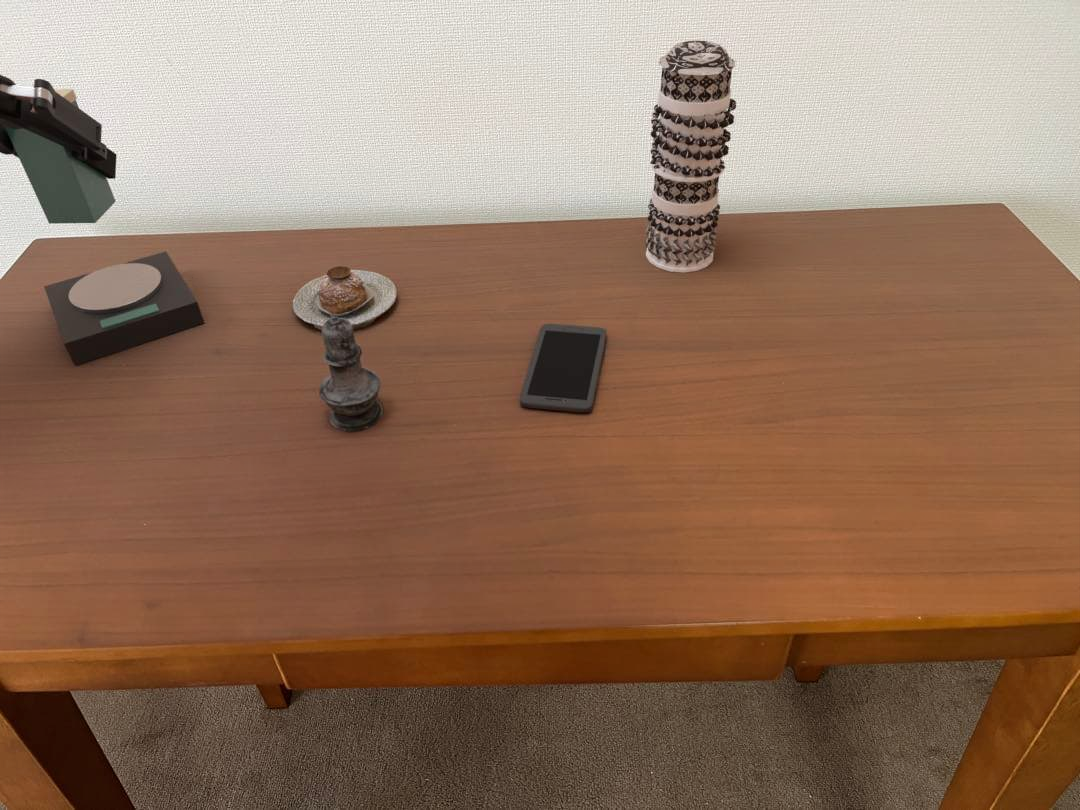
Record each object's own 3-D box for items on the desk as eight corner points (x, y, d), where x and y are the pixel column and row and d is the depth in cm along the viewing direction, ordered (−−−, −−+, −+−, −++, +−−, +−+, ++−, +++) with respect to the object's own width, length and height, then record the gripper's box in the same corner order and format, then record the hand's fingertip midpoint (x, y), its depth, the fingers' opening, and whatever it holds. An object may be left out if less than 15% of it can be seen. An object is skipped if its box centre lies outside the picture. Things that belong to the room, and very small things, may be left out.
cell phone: (607, 332, 90) (607, 327, 90) (591, 414, 80) (591, 408, 79) (542, 327, 91) (541, 322, 91) (517, 407, 81) (517, 401, 81)
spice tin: (95, 223, 86) (47, 108, 78) (47, 224, 86) (-6, 109, 78) (117, 201, 90) (73, 88, 82) (71, 201, 90) (22, 89, 82)
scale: (75, 366, 89) (63, 342, 87) (54, 307, 98) (43, 284, 96) (204, 323, 94) (196, 299, 92) (173, 271, 103) (165, 249, 101)
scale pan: (79, 324, 89) (76, 319, 89) (63, 284, 96) (61, 280, 96) (172, 295, 93) (170, 290, 93) (151, 258, 100) (149, 254, 100)
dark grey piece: (333, 440, 78) (306, 338, 71) (320, 404, 82) (294, 304, 75) (393, 423, 80) (373, 321, 72) (377, 388, 84) (357, 289, 76)
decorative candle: (722, 273, 99) (751, 60, 83) (646, 275, 100) (660, 62, 83) (711, 236, 106) (735, 33, 90) (639, 238, 107) (651, 35, 90)
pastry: (276, 303, 97) (267, 270, 94) (363, 267, 103) (357, 234, 100) (327, 347, 90) (318, 312, 87) (417, 305, 96) (412, 271, 93)
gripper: (-201, 105, 65) (3, 201, 88) (19, 101, 64) (167, 199, 88) (-194, 14, 66) (7, 134, 89) (24, 9, 65) (170, 131, 88)
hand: (86, 166), depth 88 cm, fingers closed on spice tin, 5 cm apart
